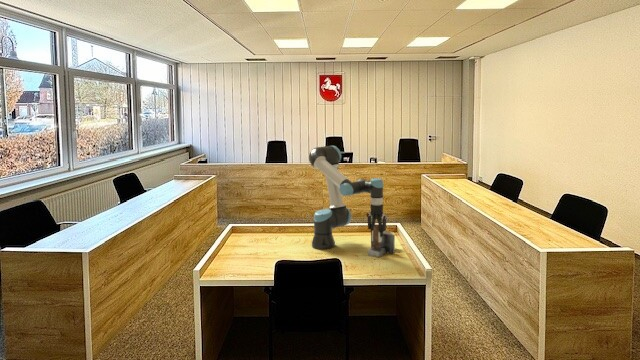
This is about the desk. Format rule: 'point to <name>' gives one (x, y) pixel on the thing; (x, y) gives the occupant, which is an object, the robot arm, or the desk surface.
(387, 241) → the bracket
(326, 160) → the robot arm
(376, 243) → the handle
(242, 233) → the desk surface
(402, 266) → the desk surface
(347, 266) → the desk surface
